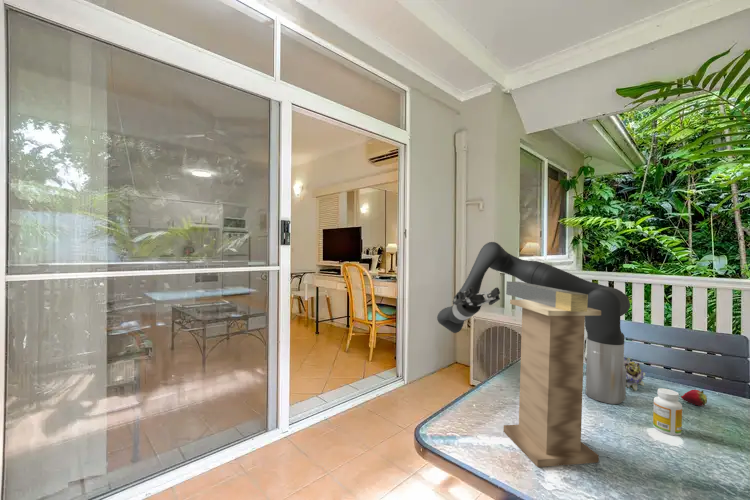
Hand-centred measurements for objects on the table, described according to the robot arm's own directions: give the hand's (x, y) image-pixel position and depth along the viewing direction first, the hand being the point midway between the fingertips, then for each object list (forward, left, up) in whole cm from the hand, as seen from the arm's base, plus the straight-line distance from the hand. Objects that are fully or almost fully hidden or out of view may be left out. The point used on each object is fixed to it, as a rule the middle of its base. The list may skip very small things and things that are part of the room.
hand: (485, 290), depth 105 cm
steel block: (0, +27, +1) cm, 27 cm away
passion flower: (-49, +2, -31) cm, 58 cm away
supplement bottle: (-35, +28, -31) cm, 55 cm away
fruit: (-58, +17, -31) cm, 68 cm away
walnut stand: (0, +31, -31) cm, 44 cm away
